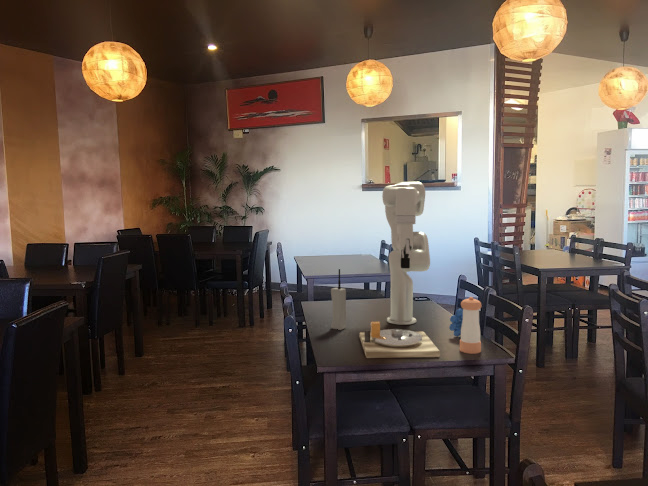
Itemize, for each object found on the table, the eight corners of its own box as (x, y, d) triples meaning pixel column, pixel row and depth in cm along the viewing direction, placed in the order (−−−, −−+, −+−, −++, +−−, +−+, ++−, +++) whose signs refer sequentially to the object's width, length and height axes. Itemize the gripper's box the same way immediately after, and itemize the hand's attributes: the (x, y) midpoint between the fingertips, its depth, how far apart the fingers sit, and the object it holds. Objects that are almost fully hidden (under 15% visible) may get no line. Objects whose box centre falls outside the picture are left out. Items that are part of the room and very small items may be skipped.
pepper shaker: (466, 354, 174) (467, 299, 172) (455, 348, 181) (456, 295, 179) (485, 352, 176) (486, 298, 174) (473, 346, 183) (474, 294, 181)
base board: (359, 337, 196) (359, 322, 196) (423, 336, 197) (423, 321, 196) (366, 357, 171) (366, 340, 171) (439, 356, 172) (439, 339, 171)
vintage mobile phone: (336, 326, 212) (336, 267, 210) (346, 328, 209) (345, 268, 207) (331, 328, 209) (330, 268, 207) (340, 330, 206) (340, 269, 204)
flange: (374, 347, 174) (374, 329, 174) (368, 333, 192) (368, 316, 192) (427, 346, 175) (427, 328, 174) (416, 332, 193) (416, 315, 192)
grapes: (475, 333, 200) (476, 303, 199) (481, 338, 193) (481, 307, 192) (446, 334, 200) (446, 304, 199) (450, 338, 193) (451, 308, 192)
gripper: (392, 219, 199) (392, 265, 201) (399, 221, 184) (398, 271, 186) (411, 219, 199) (411, 265, 201) (419, 221, 184) (418, 270, 186)
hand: (405, 267), depth 193 cm, fingers closed
